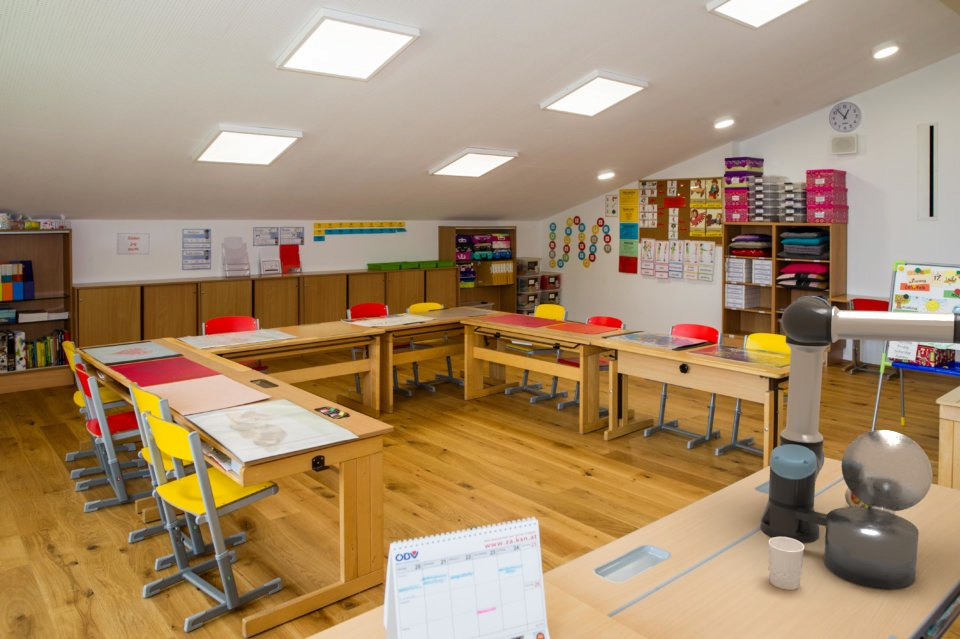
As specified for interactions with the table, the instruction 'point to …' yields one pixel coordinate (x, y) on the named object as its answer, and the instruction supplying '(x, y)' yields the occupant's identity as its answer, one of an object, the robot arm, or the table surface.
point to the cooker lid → (886, 470)
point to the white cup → (785, 562)
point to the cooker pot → (868, 546)
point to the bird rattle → (853, 499)
